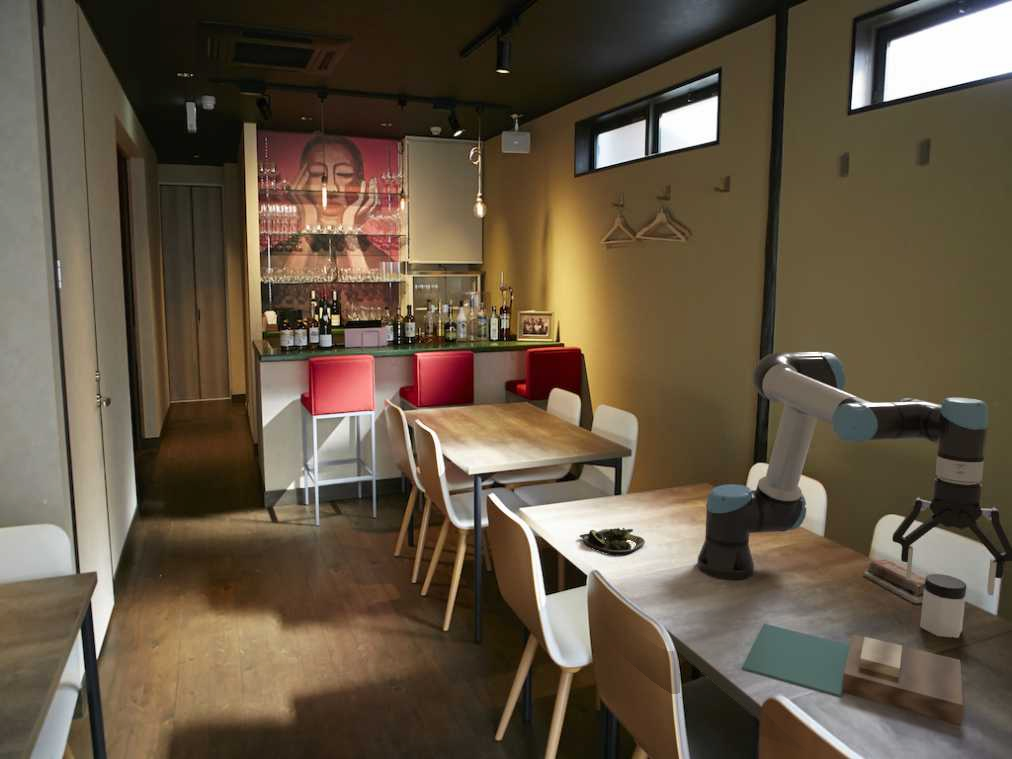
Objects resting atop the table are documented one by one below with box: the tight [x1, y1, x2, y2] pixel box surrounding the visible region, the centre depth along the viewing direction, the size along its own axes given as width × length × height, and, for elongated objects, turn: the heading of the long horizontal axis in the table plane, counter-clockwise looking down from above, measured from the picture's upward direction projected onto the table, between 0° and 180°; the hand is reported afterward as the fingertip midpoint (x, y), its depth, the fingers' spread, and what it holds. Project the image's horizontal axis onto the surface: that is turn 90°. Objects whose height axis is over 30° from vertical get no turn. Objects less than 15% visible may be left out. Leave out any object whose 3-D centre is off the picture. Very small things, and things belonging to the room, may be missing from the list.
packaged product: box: [863, 559, 926, 604], centre depth 189 cm, size 18×5×10 cm
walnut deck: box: [842, 634, 964, 726], centre depth 144 cm, size 20×18×4 cm
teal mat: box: [741, 623, 850, 697], centre depth 154 cm, size 19×22×1 cm
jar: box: [919, 573, 967, 639], centre depth 166 cm, size 9×8×12 cm
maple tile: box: [860, 636, 903, 678], centre depth 145 cm, size 7×10×2 cm
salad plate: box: [579, 527, 646, 556], centre depth 219 cm, size 19×18×5 cm
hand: (948, 585), depth 139 cm, fingers open, 13 cm apart
